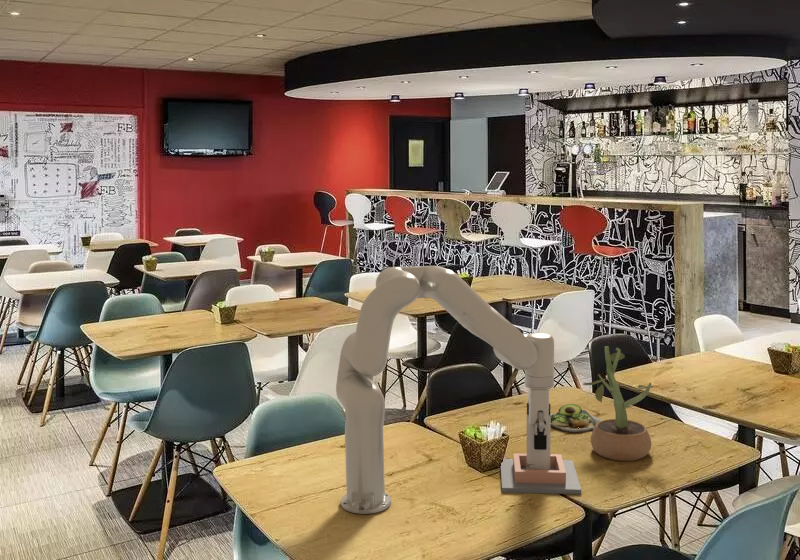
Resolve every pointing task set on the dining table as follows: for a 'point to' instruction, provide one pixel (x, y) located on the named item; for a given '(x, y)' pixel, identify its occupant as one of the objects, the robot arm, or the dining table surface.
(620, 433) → the potted plant
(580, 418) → the salad plate
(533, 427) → the travel mug
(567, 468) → the collar plate
